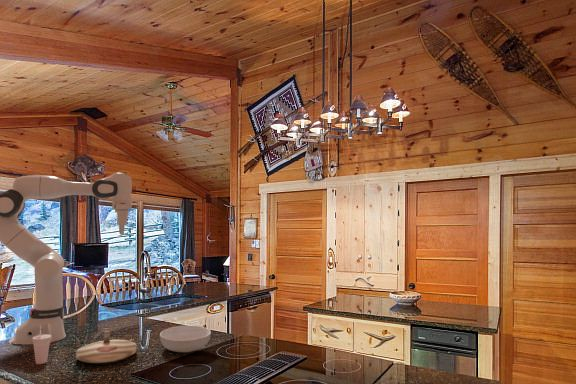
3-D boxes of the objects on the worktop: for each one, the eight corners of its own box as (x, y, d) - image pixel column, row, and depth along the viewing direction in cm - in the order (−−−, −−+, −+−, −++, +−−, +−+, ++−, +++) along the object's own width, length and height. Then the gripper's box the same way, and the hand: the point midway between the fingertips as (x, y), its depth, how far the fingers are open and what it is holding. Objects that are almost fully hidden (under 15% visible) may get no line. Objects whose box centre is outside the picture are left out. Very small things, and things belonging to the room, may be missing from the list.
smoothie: (36, 359, 166) (37, 323, 167) (54, 358, 167) (54, 322, 167) (28, 365, 160) (29, 327, 160) (46, 365, 161) (46, 327, 161)
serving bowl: (185, 361, 165) (185, 343, 166) (148, 351, 177) (148, 334, 177) (221, 346, 183) (221, 330, 183) (185, 337, 194) (185, 322, 194)
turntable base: (84, 367, 159) (84, 363, 159) (85, 353, 173) (85, 349, 173) (130, 361, 165) (130, 357, 165) (127, 348, 180) (127, 344, 180)
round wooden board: (139, 357, 164) (139, 343, 164) (74, 366, 155) (75, 351, 155) (134, 340, 184) (134, 327, 184) (77, 347, 175) (77, 333, 175)
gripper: (114, 205, 219) (114, 232, 219) (115, 205, 201) (115, 235, 200) (127, 205, 222) (127, 232, 222) (130, 206, 203) (129, 235, 203)
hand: (121, 233), depth 211 cm, fingers open, 8 cm apart
